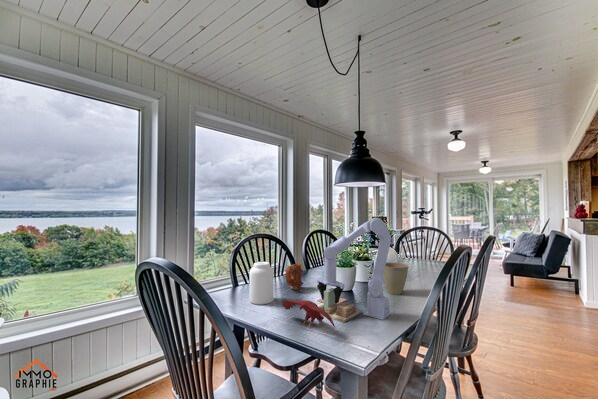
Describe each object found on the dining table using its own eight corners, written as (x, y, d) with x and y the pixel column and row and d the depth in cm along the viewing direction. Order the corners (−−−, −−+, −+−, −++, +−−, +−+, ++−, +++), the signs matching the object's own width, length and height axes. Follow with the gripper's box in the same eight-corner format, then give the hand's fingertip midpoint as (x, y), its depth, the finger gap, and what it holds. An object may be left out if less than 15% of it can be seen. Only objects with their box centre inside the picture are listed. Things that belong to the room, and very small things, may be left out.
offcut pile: (355, 312, 135) (355, 304, 135) (345, 317, 128) (345, 309, 128) (346, 309, 138) (346, 302, 138) (335, 315, 132) (335, 307, 132)
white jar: (244, 302, 152) (244, 263, 152) (258, 296, 163) (258, 259, 163) (264, 306, 146) (264, 266, 146) (278, 299, 157) (278, 261, 157)
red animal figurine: (290, 324, 134) (272, 305, 127) (300, 307, 139) (284, 287, 132) (339, 345, 114) (322, 324, 107) (349, 324, 119) (334, 302, 112)
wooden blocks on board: (360, 313, 136) (360, 306, 136) (344, 322, 126) (344, 315, 126) (331, 305, 147) (331, 299, 147) (314, 313, 136) (314, 306, 136)
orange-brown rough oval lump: (294, 285, 183) (294, 261, 183) (305, 287, 179) (305, 262, 179) (280, 291, 170) (280, 265, 171) (292, 294, 166) (292, 267, 166)
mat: (346, 300, 154) (346, 299, 154) (334, 306, 146) (334, 304, 146) (329, 296, 162) (329, 295, 162) (317, 301, 153) (317, 300, 153)
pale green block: (336, 307, 141) (336, 288, 141) (328, 311, 135) (328, 292, 136) (332, 306, 142) (332, 288, 142) (323, 310, 137) (323, 291, 137)
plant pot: (412, 296, 160) (412, 267, 161) (385, 296, 161) (384, 267, 161) (403, 289, 175) (403, 262, 176) (378, 289, 176) (378, 262, 176)
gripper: (312, 271, 141) (312, 299, 141) (338, 276, 131) (338, 306, 131) (321, 268, 146) (321, 296, 146) (346, 273, 137) (346, 302, 137)
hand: (330, 300), depth 139 cm, fingers open, 7 cm apart
